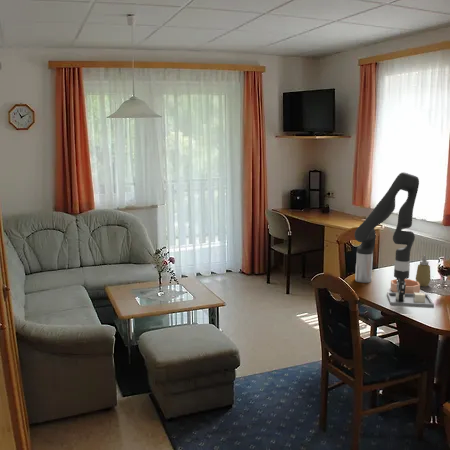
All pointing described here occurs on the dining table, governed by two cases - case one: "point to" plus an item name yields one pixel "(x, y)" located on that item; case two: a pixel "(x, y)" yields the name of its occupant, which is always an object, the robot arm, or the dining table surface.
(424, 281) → the squeeze bottle
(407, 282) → the bowl
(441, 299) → the dining table surface
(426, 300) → the parts tray
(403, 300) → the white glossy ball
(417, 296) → the sandy stone
